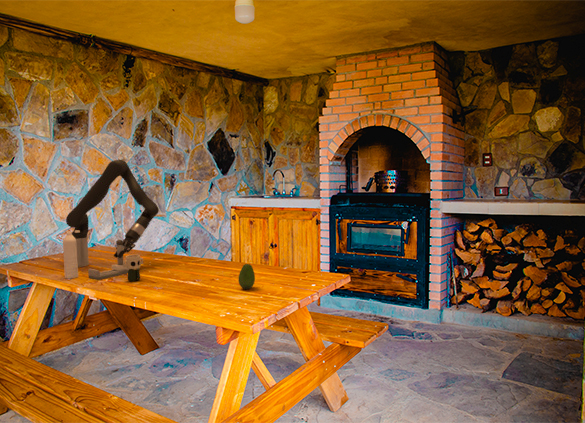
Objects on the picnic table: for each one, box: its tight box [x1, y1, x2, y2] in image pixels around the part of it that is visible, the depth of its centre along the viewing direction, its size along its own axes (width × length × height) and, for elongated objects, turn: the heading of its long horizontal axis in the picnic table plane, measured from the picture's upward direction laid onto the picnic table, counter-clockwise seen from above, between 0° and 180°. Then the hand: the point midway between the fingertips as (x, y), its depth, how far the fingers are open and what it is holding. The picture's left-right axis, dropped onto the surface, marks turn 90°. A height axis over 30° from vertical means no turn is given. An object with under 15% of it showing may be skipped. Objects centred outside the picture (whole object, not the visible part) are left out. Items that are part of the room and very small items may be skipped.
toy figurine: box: [123, 254, 144, 282], centre depth 221 cm, size 11×7×13 cm, turn 138°
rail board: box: [87, 267, 140, 281], centre depth 236 cm, size 9×25×5 cm, turn 145°
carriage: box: [111, 239, 128, 270], centre depth 238 cm, size 6×7×16 cm
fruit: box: [238, 263, 256, 290], centre depth 202 cm, size 8×8×12 cm
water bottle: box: [62, 231, 80, 280], centre depth 230 cm, size 9×6×25 cm
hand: (117, 257), depth 236 cm, fingers closed on carriage, 3 cm apart
